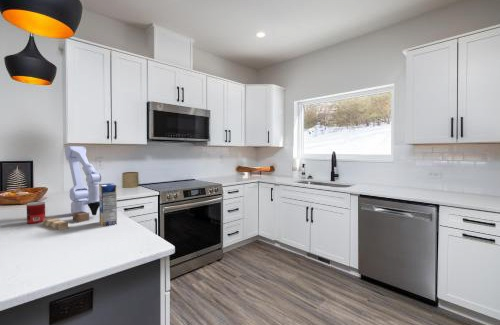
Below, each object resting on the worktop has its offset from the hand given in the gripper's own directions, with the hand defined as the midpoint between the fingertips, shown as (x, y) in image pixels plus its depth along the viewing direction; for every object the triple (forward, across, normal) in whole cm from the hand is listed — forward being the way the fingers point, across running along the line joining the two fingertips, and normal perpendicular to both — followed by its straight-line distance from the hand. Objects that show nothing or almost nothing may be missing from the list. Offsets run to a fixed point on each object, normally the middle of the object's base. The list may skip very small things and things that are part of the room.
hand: (94, 214), depth 151 cm
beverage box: (+2, -3, -19) cm, 19 cm away
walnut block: (+2, -8, 0) cm, 8 cm away
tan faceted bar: (+2, -20, -1) cm, 21 cm away
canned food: (+2, -22, +17) cm, 28 cm away
